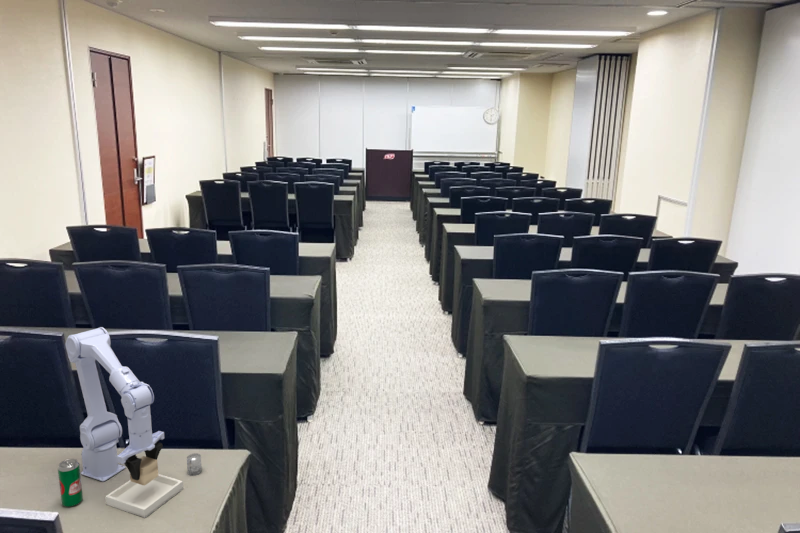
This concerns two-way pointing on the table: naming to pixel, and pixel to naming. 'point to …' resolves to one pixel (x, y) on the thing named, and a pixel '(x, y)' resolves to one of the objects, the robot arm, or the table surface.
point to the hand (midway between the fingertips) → (143, 473)
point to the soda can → (70, 483)
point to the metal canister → (194, 464)
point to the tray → (144, 495)
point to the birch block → (147, 471)
